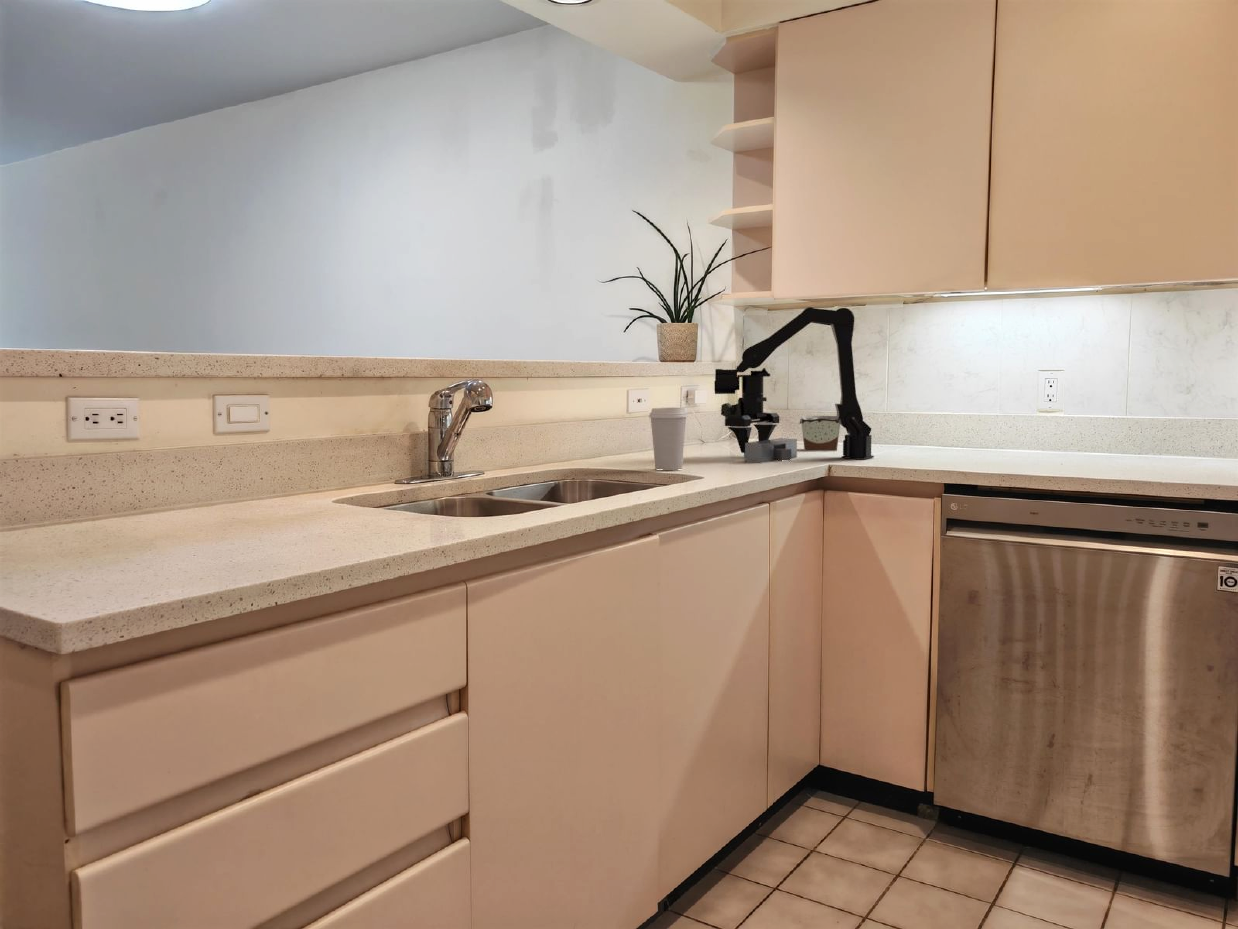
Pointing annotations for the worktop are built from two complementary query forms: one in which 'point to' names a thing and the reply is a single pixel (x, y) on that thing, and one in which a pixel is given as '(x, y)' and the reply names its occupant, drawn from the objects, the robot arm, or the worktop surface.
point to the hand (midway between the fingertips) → (752, 451)
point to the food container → (820, 433)
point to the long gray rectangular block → (768, 449)
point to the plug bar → (781, 454)
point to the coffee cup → (668, 437)
